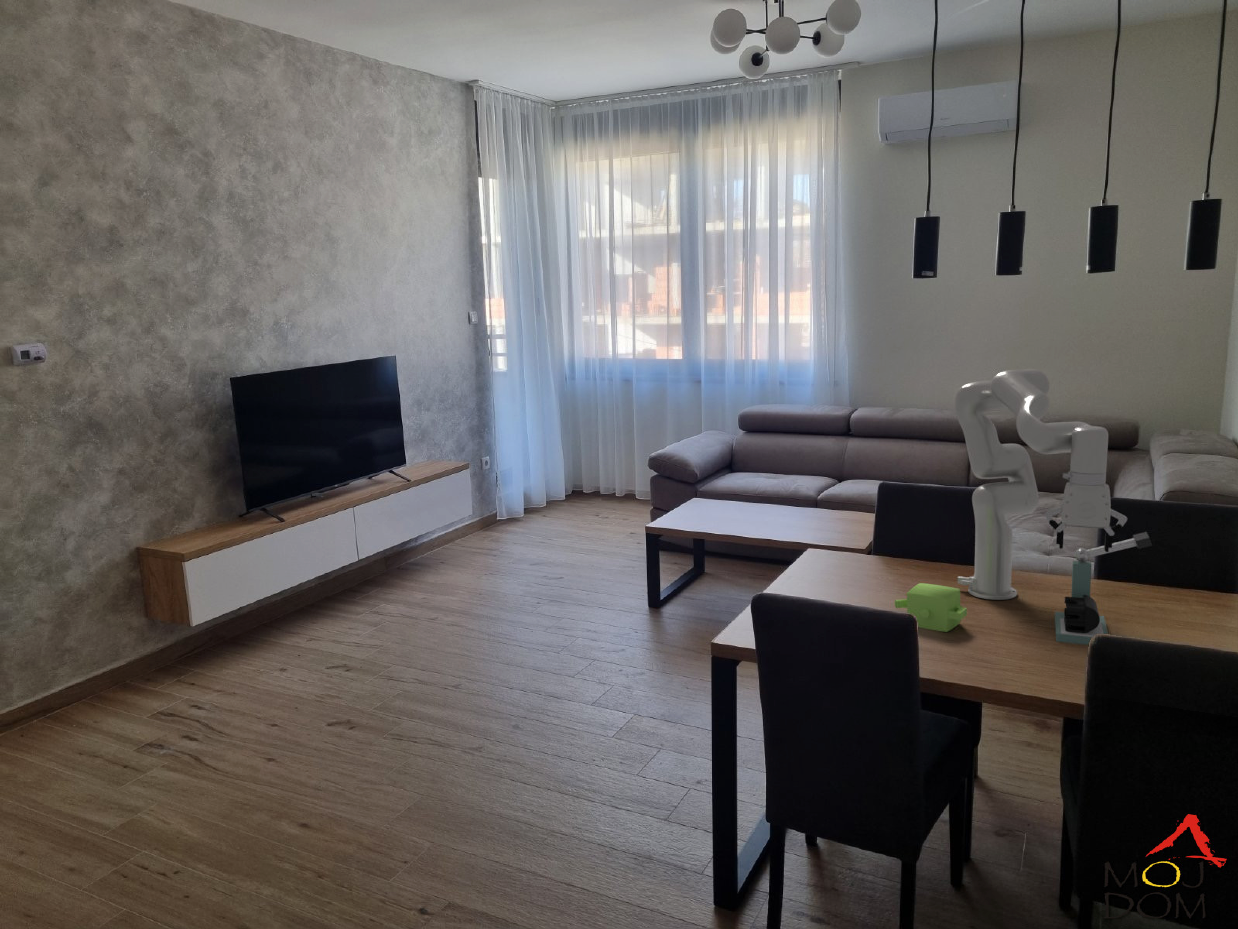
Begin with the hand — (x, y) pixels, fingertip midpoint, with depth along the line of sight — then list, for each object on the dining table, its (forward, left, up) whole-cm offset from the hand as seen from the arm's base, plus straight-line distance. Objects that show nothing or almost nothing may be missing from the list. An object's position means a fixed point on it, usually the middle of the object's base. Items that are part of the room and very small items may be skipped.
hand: (1083, 548), depth 210 cm
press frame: (0, +3, -22) cm, 22 cm away
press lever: (+7, +9, -3) cm, 12 cm away
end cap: (0, 0, -20) cm, 20 cm away
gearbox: (-34, -3, -22) cm, 41 cm away
